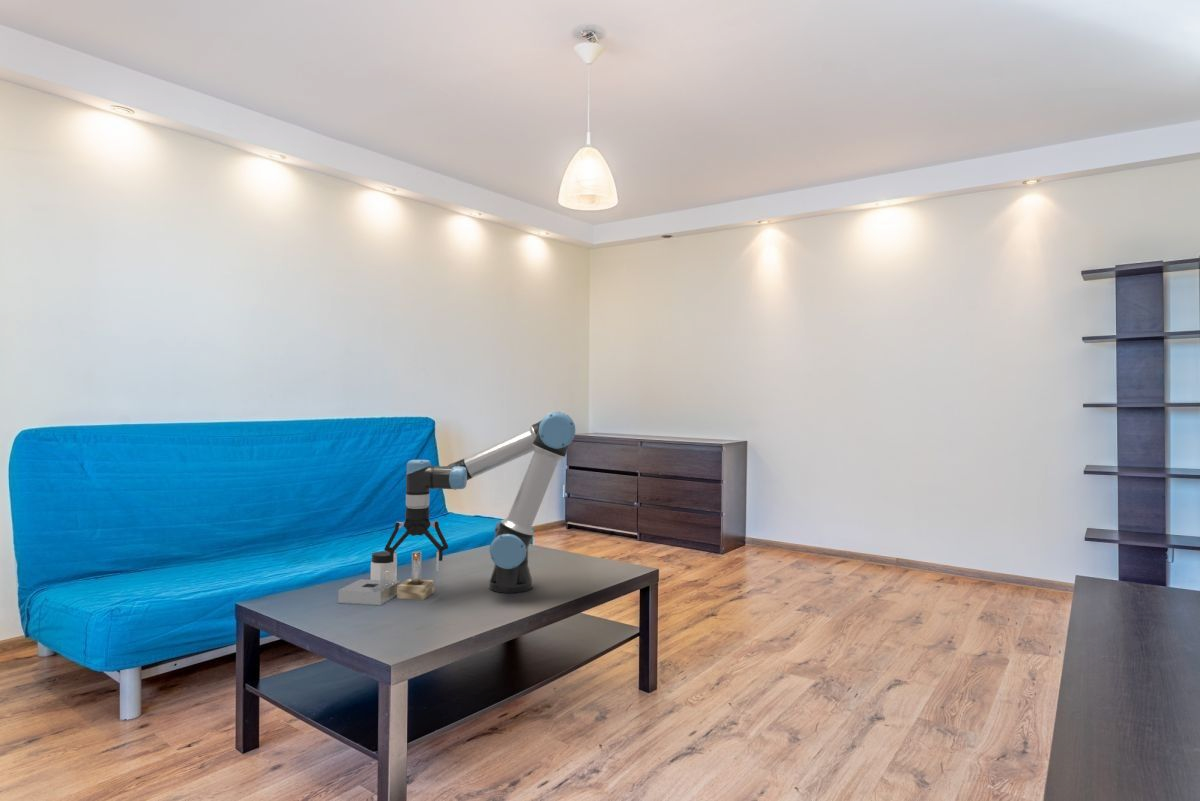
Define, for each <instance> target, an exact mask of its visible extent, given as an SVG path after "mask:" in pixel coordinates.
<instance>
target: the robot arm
mask: <svg viewBox="0 0 1200 801" xmlns="http://www.w3.org/2000/svg"><path fill="white" fill-rule="evenodd" d="M575 436H576V424H575V422H574V420H573V419H572V418H571V417H570V416H569V415H568V414H566V413H565V412H561V411H553V412H549V413H548V414H546V415H545V416H544V417H543V418H542V419H541V420H540V421H538V422H536V423H534V424H532V425H531V426H530V427H529V429H527V430H525V431H523V432H520V433H518V434H516V435H513V436H511V437H510V438H507V439H504V440H502V441H500V442H497V443H495V444H493V445H491V446H489V447H486V448H484V449H482V450H480V451H478V452H475V453H474V454H473V453H472V454H471V455H468V456H466V457H464V458H462V459H460V460H457V461H455V462H452V463H450V464H448V465H445V466H444V465H443V466H441V465H440V466H435V465H432V464H431V461H430V460H428V459H411V460H408V462H407V463H406V473H405V475H406V476H405V480H406V482H405V483H406V484H405V485H406V487H405V490H406V491H405V506H406V508H405V519H404V520H405V521H404V522H400V521H396V522H395V524H394V529H393V532H392V534H391V536H390V537H389V539H388V541H387V543H386V545H385V547H384V548H383V549H384V551H388V552H390V562H393V573H396V562H397V563H398V559H397V556H398V552H397V549H398V547H400V545H401V544H402V543H403V542H404V541H405V540H406V538H407V537H409V535H410V536H412V537H413V536H421V537H422V536H423V535H425V537H427V539H428V540H429V541H430V542H431V543H432V545H434V547H435V548H436V549H437V550H436V558H435V559H436V561H435V562H436V563H435V564H436V565H435V566H436V567H435V571H436V573H437V572H439V571H440V567H439V566H440V562H441V561H443V556H444V554H443V552H444V551H446V550H448V549H449V544H448V542H447V540H446V539H445V536H444V534H443V532H442V530H441V528H440V522H439V520H435V521H431V520H430V507H429V506H430V494H431V493H430V490H436V489H437V490H454V491H455V490H464V489H466V487H467V482H468V481H469V480H471V479H473V478H475V477H477V476H480V475H482V474H484V473H487V472H489V471H492V470H493V469H496V468H498V467H500V466H502V465H505V464H507V463H511V462H512V461H514V460H517V459H519V458H521V457H523V456H526V455H528V454H530V453H533V454H532V457H531V459H530V462H529V464H528V466H527V469H526V472H525V473H524V476H523V478H522V482H521V483H520V486H519V489H518V491H517V493H516V496H515V498H514V501H513V503H512V505H511V508H510V511H509V513H508V515H507V517H506V518H505V519H502V520H501V521H498V522H496V523H495V528H494V532H495V534H494V535H495V536H494V538H493V539H492V541H491V543H490V546H489V556H490V558H491V560H492V562H493V563H494V566H493V569H492V573H491V575H490V578H489V582H488V589H489V590H491V591H493V592H498V593H505V594H506V593H507V594H513V593H515V592H516V593H522V591H523V592H527V591H529V590H528V589H530V590H532V589H533V587H534V586H533V578H532V575H531V572H530V567H529V546H530V544H531V541H532V539H533V537H534V533H535V532H534V530H533V528H532V527H533V524H534V522H535V520H536V517H537V514H538V512H539V510H540V507H541V505H542V503H543V499H544V497H545V495H546V493H547V490H548V487H549V485H550V483H551V480H552V477H553V476H554V472H555V470H556V467H557V465H558V462H559V461H560V460H562V459H564V458H566V455H567V453H568V450H569V448H570V445H571V443H572V442H573V440H574V438H575ZM402 527H404V529H405V532H404V533H403V534H402V536H400V537H399V539H398V540H397V541H396V542H395V543H394V545H393V546H391V545H392V543H393V542H394V539H395V538H396V535H397V533H398V532H399V530H401V529H402ZM430 527H432V528H433V529H435V532H436V533H437V537H438V539H439V540H440V542H441V544H442V545H441V544H440V542H439V541H438V540H437V539H436V538H435V537H434V536H433V534H431V532H430V531H429V528H430ZM532 586H533V587H532ZM531 588H532V589H531ZM526 590H527V591H526Z"/></svg>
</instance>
